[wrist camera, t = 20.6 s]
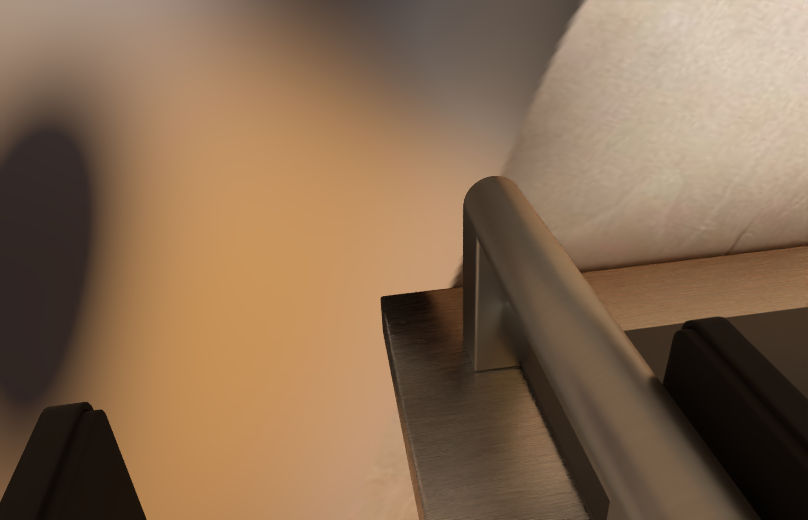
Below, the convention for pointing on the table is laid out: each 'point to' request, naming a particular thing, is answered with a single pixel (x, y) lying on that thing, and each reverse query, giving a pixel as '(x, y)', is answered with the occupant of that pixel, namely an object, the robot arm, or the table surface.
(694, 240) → the table surface
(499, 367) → the microwave door
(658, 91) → the table surface
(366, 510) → the table surface
